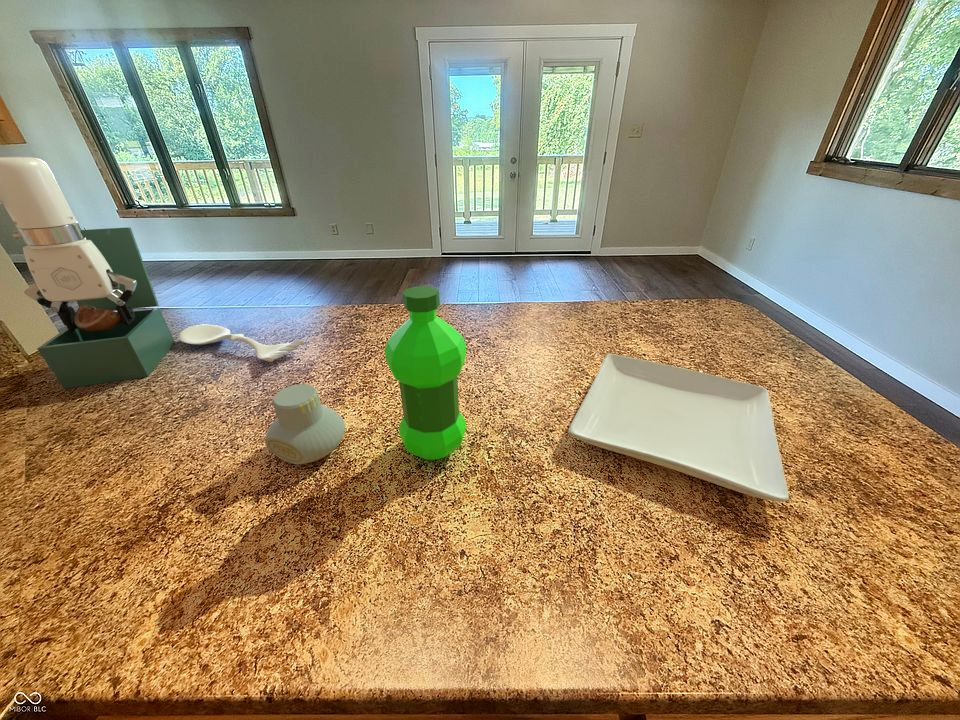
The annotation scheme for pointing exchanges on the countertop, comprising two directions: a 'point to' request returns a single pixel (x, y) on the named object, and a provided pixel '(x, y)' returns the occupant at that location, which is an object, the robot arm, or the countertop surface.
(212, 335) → the spoon
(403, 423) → the plastic bottle
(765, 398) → the square plate
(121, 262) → the lid
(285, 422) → the air freshener
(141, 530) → the countertop surface
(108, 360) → the open green box
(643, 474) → the countertop surface
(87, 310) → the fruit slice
